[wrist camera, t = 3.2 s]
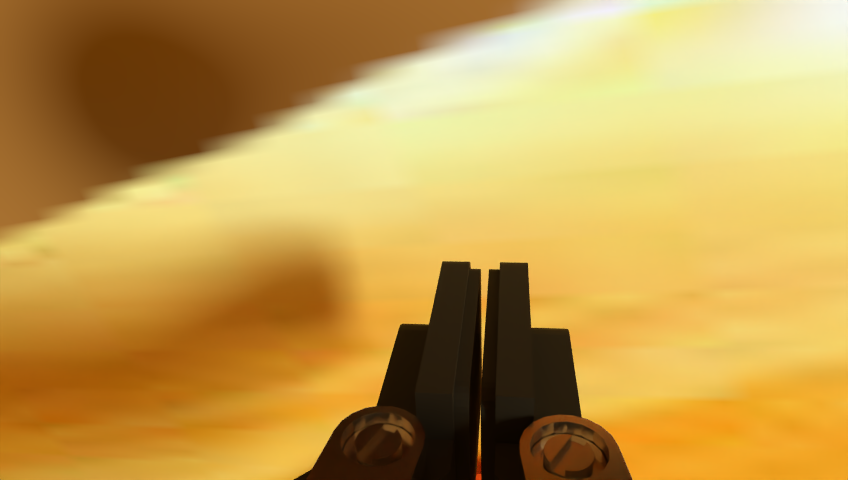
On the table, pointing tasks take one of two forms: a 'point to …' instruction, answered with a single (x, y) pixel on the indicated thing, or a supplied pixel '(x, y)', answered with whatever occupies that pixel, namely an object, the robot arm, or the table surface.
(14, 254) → the table surface
